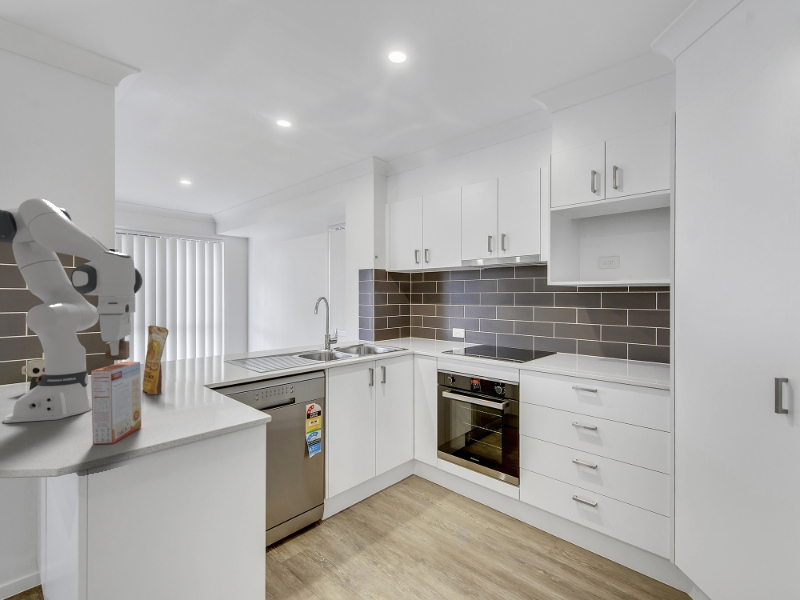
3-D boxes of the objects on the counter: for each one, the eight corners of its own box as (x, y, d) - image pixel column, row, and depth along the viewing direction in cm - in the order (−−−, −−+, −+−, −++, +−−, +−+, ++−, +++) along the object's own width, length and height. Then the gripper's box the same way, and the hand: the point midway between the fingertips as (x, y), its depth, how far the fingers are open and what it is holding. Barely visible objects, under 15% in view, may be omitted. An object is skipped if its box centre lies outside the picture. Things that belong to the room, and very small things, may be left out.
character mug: (23, 394, 160) (23, 363, 159) (20, 392, 164) (19, 361, 164) (58, 389, 168) (58, 359, 168) (53, 387, 173) (53, 358, 172)
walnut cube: (105, 360, 111) (105, 343, 111) (109, 358, 115) (109, 341, 115) (126, 359, 113) (126, 342, 113) (129, 357, 118) (129, 340, 117)
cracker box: (122, 427, 121) (121, 361, 121) (142, 427, 122) (142, 361, 121) (90, 445, 107) (89, 369, 107) (113, 444, 108) (112, 369, 107)
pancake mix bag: (156, 386, 176) (156, 324, 175) (169, 393, 163) (169, 327, 162) (139, 388, 171) (138, 325, 171) (151, 396, 158) (151, 328, 157)
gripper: (112, 305, 122) (112, 349, 122) (95, 307, 104) (95, 359, 104) (136, 305, 125) (136, 348, 125) (123, 307, 106) (123, 357, 106)
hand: (117, 353), depth 114 cm, fingers closed on walnut cube, 5 cm apart
